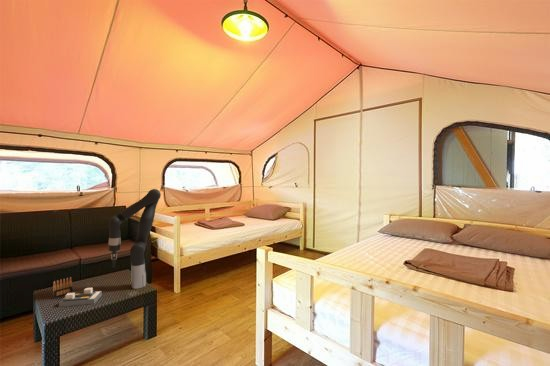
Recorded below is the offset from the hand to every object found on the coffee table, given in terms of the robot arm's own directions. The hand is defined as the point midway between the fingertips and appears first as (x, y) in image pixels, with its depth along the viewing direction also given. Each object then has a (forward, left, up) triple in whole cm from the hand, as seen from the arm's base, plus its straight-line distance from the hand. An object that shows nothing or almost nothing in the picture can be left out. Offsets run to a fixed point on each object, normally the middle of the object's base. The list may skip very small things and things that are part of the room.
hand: (113, 265), depth 189 cm
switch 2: (+12, +10, -15) cm, 22 cm away
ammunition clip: (+31, +2, -19) cm, 36 cm away
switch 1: (+20, +16, -15) cm, 30 cm away
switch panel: (+15, +13, -18) cm, 27 cm away
